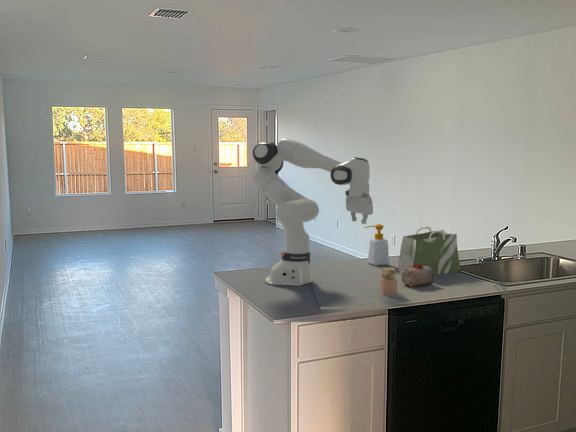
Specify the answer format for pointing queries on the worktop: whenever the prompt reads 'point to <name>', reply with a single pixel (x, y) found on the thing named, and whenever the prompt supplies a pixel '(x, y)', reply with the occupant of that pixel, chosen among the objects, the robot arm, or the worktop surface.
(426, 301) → the worktop surface
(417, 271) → the food item
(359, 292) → the baseplate
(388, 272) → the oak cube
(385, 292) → the base block
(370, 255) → the soap bottle
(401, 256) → the grocery bag
